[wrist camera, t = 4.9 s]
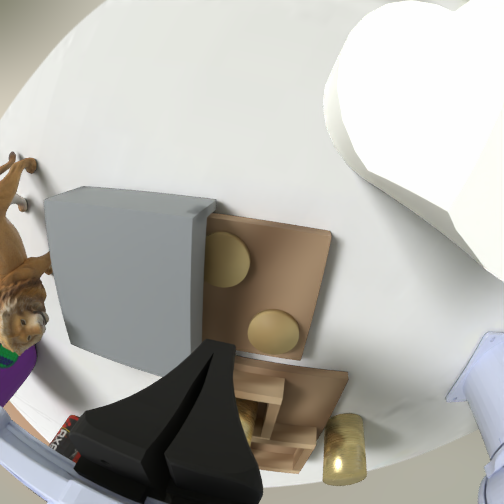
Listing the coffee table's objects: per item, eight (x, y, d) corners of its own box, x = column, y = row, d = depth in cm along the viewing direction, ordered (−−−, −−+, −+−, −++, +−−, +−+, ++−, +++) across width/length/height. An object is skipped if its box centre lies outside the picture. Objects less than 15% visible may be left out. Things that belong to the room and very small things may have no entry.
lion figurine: (99, 295, 21) (29, 362, 13) (65, 307, 23) (4, 365, 14) (30, 135, 17) (-59, 153, 9) (3, 167, 18) (-72, 191, 10)
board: (329, 231, 16) (332, 240, 15) (300, 351, 20) (300, 366, 18) (194, 210, 17) (185, 217, 16) (191, 331, 21) (184, 344, 19)
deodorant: (91, 440, 34) (53, 506, 20) (64, 416, 33) (19, 481, 19) (108, 439, 32) (66, 513, 18) (78, 413, 31) (28, 487, 17)
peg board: (347, 372, 20) (351, 399, 18) (304, 455, 25) (303, 476, 23) (191, 346, 21) (179, 370, 19) (195, 437, 27) (188, 456, 24)
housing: (216, 199, 16) (192, 217, 13) (208, 346, 21) (191, 384, 17) (83, 186, 17) (43, 199, 14) (97, 316, 22) (71, 344, 18)
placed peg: (262, 387, 21) (249, 452, 15) (256, 413, 22) (244, 471, 17) (216, 378, 21) (194, 439, 16) (215, 405, 23) (196, 461, 17)
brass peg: (368, 413, 22) (373, 469, 16) (355, 434, 23) (357, 485, 18) (330, 412, 22) (329, 470, 17) (320, 432, 23) (317, 485, 18)
